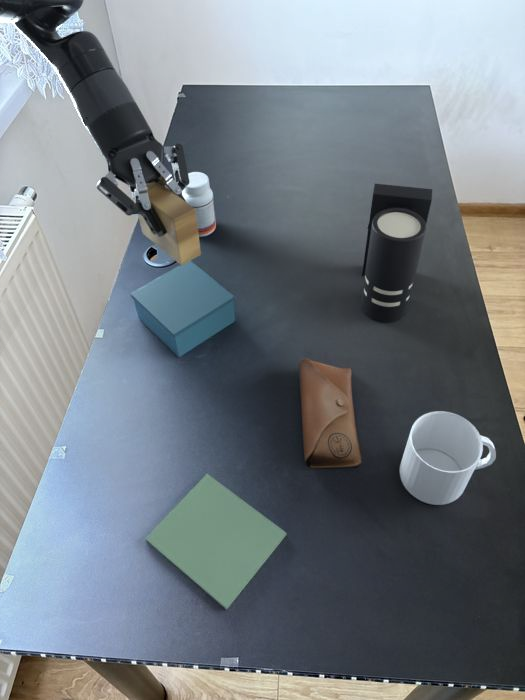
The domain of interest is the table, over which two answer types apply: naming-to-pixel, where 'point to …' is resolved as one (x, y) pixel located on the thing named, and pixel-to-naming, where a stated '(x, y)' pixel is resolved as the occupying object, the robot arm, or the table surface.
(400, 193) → the light fixture
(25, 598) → the table surface
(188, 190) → the pill bottle
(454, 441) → the mug
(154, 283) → the toy box
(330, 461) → the sunglasses case
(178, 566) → the mat
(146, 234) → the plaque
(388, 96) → the table surface
